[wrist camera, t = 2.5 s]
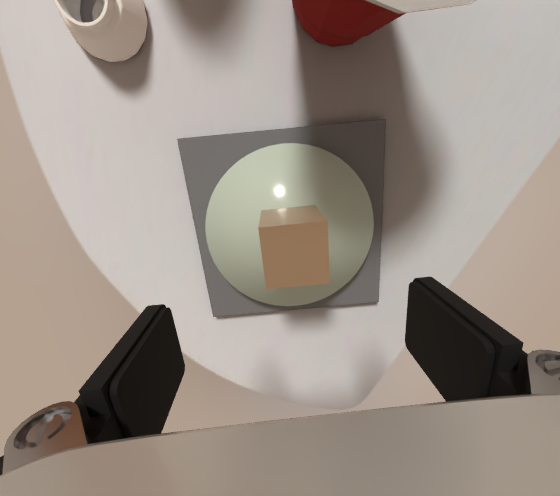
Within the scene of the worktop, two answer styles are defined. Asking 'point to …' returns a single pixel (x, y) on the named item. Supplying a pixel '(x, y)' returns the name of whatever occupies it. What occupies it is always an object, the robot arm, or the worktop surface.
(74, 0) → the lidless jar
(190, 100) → the worktop surface
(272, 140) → the mat
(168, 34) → the worktop surface
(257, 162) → the lid
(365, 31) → the plastic cup
